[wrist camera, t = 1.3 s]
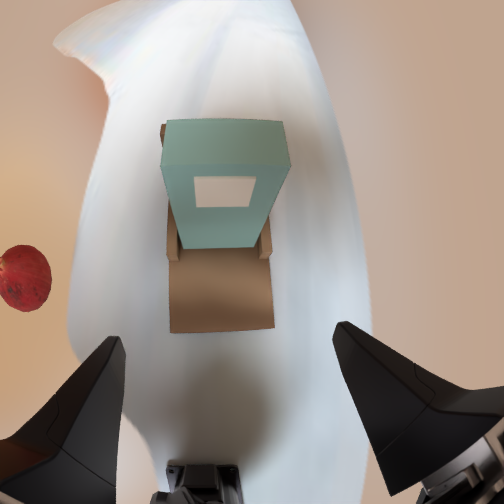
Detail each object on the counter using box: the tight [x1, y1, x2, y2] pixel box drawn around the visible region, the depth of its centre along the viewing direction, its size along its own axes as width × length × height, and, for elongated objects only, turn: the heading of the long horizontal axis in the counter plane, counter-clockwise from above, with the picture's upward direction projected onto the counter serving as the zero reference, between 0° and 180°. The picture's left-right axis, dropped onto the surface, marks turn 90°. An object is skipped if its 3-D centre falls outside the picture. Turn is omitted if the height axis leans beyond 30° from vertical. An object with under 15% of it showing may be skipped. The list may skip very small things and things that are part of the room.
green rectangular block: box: [160, 119, 291, 249], centre depth 18 cm, size 3×6×12 cm, turn 94°
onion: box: [0, 245, 52, 312], centre depth 17 cm, size 6×6×8 cm
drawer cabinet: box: [160, 124, 275, 333], centre depth 20 cm, size 14×9×9 cm, turn 4°
